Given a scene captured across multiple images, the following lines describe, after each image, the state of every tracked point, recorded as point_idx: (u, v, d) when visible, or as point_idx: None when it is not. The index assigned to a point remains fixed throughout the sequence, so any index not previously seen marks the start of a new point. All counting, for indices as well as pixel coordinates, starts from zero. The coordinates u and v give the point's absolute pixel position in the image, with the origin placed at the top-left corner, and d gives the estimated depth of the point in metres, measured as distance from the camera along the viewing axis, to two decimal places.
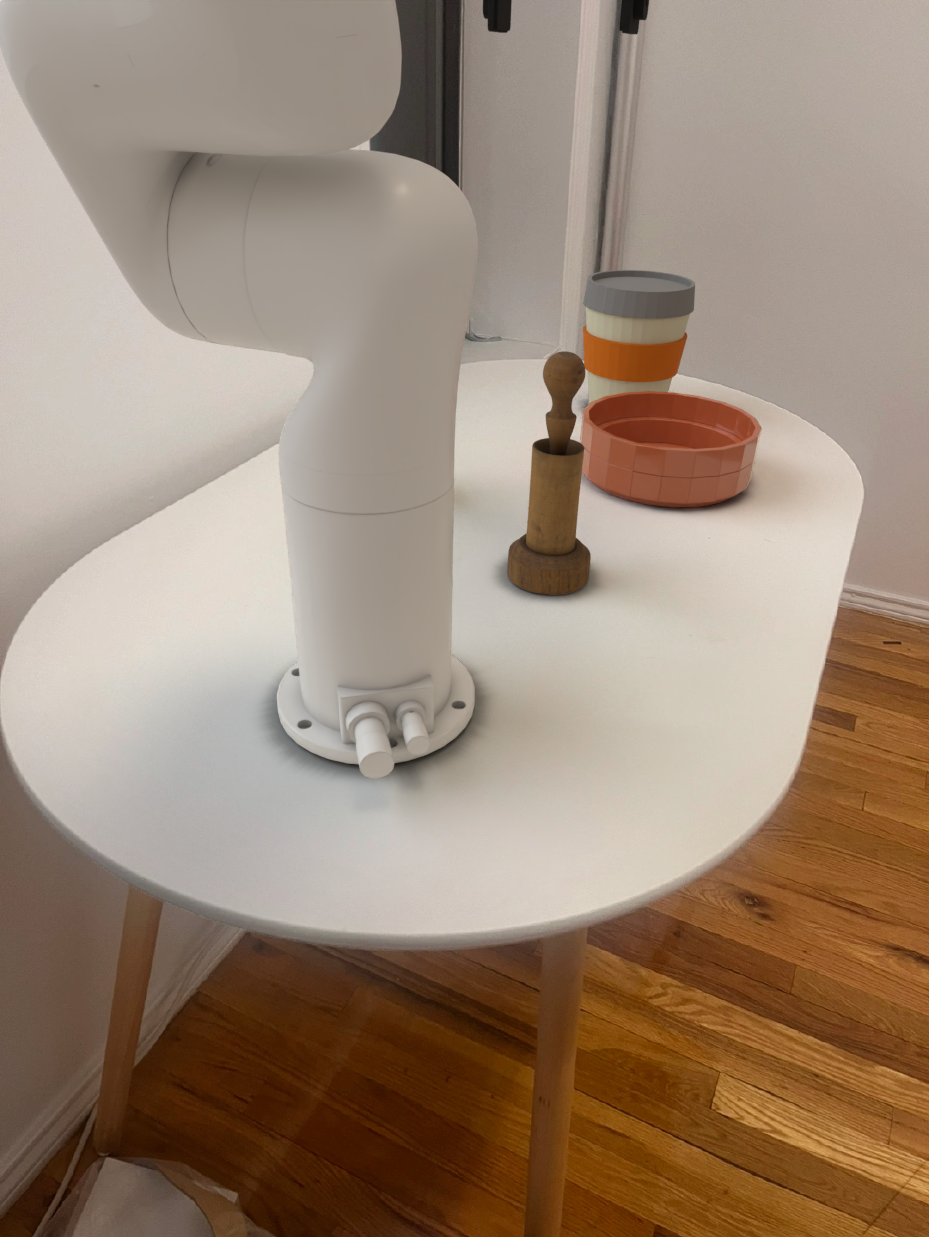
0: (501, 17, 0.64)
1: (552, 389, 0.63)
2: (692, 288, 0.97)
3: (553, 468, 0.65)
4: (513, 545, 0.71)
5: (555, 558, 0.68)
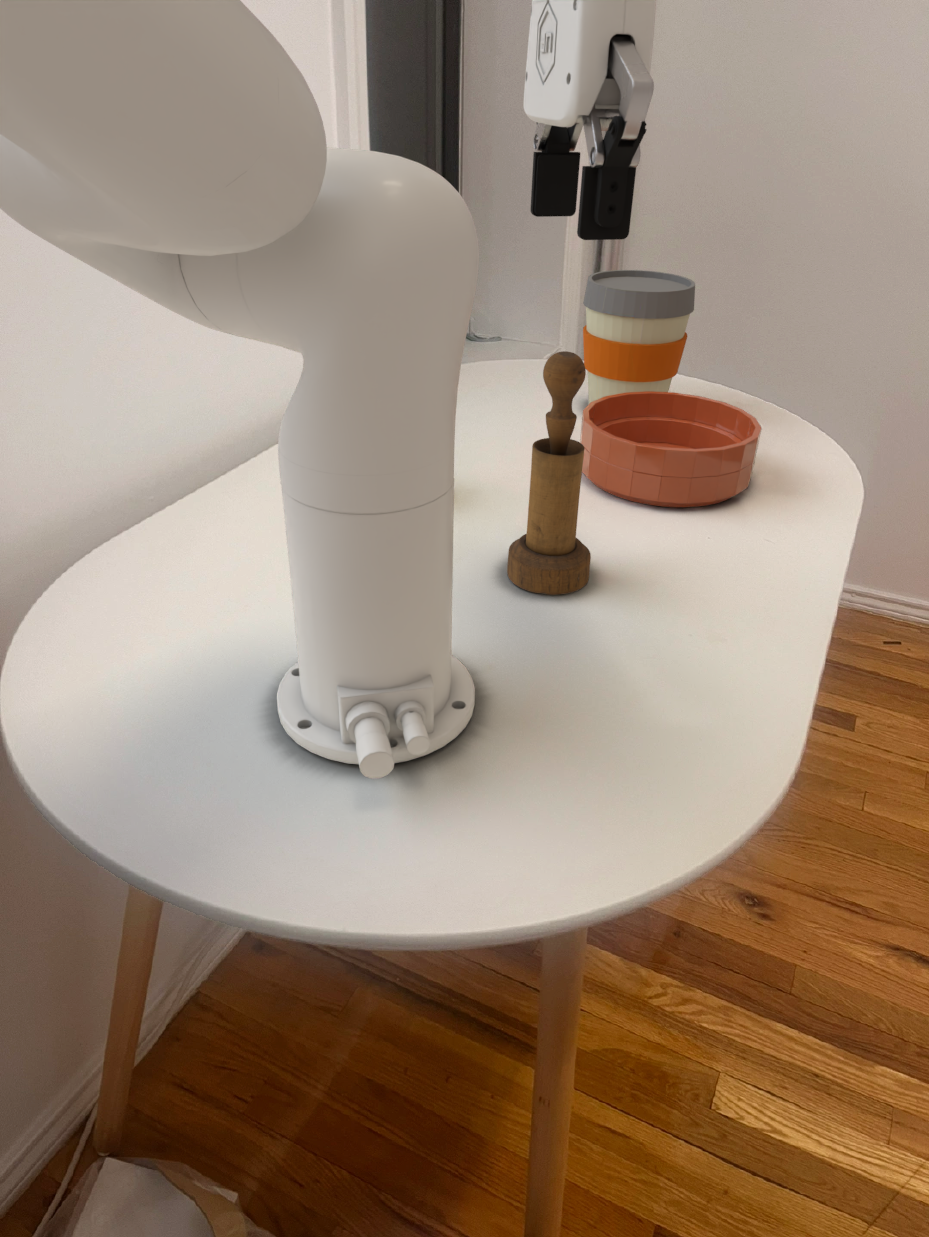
0: (547, 203, 0.61)
1: (552, 389, 0.63)
2: (692, 288, 0.97)
3: (553, 468, 0.65)
4: (513, 545, 0.71)
5: (555, 558, 0.68)
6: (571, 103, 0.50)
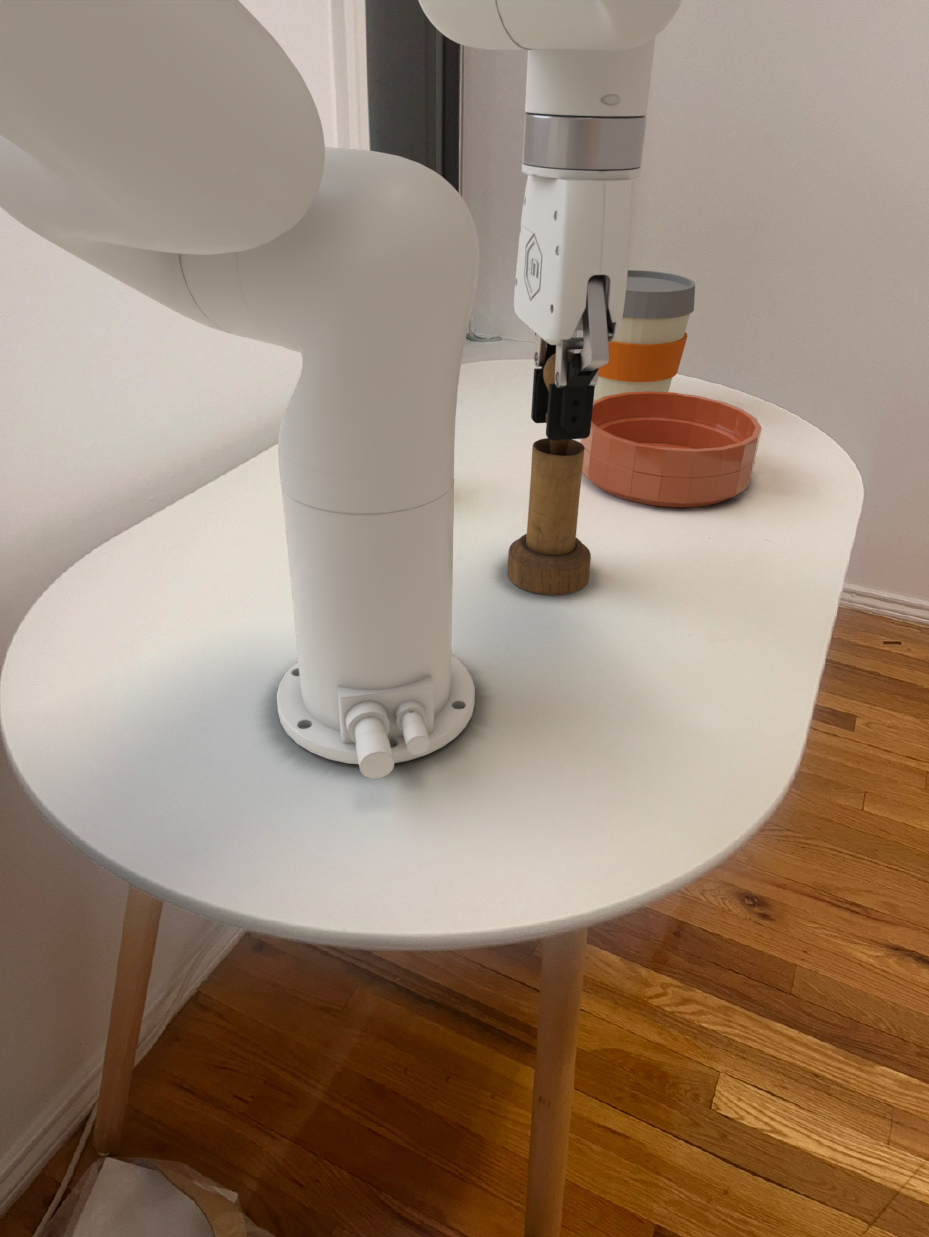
0: (546, 412, 0.66)
1: None
2: (692, 288, 0.97)
3: (553, 468, 0.65)
4: (513, 545, 0.71)
5: (555, 558, 0.68)
6: (554, 329, 0.56)
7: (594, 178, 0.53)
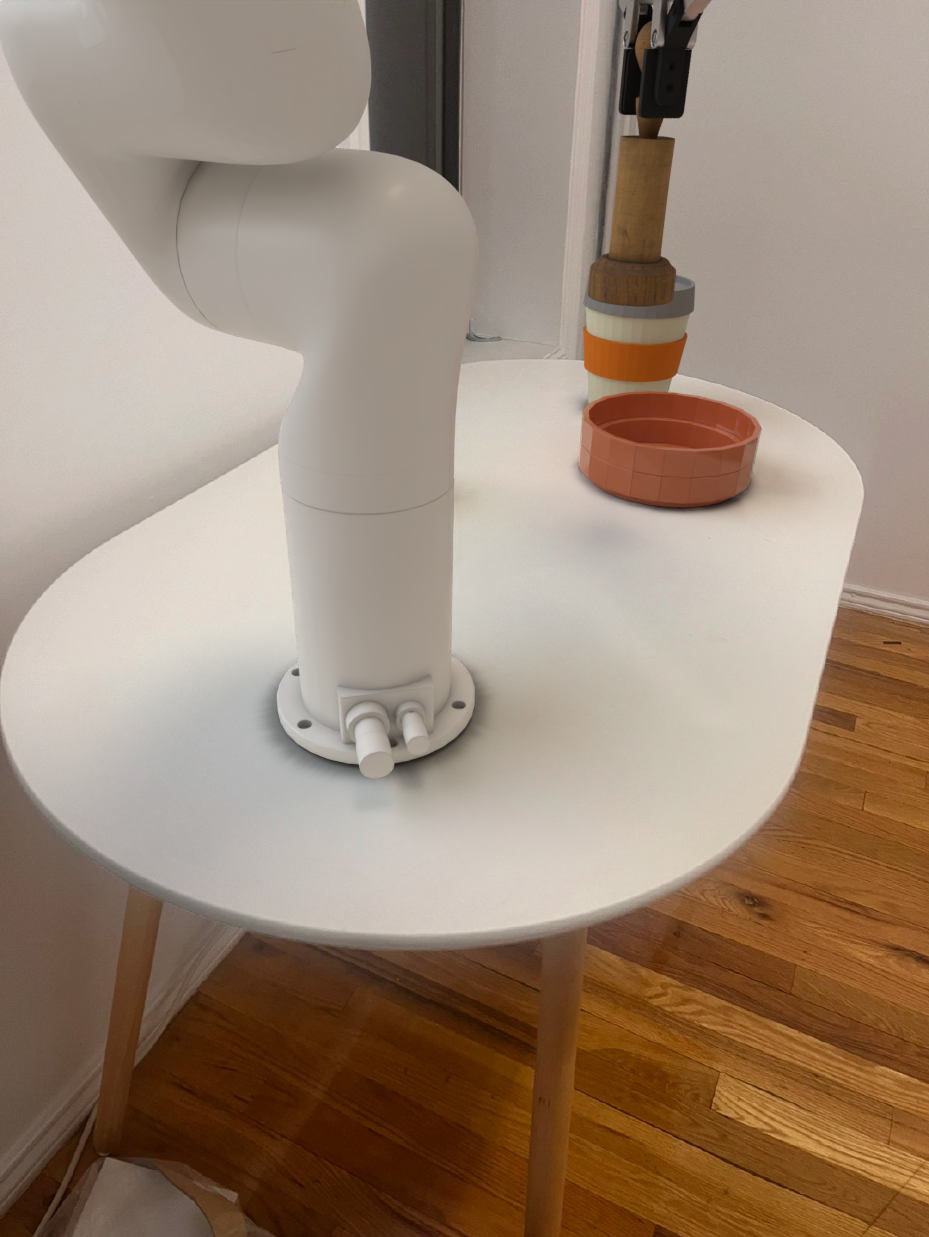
0: (635, 101, 0.63)
1: None
2: (692, 288, 0.97)
3: (644, 155, 0.62)
4: (595, 262, 0.68)
5: (642, 265, 0.65)
6: None
7: None
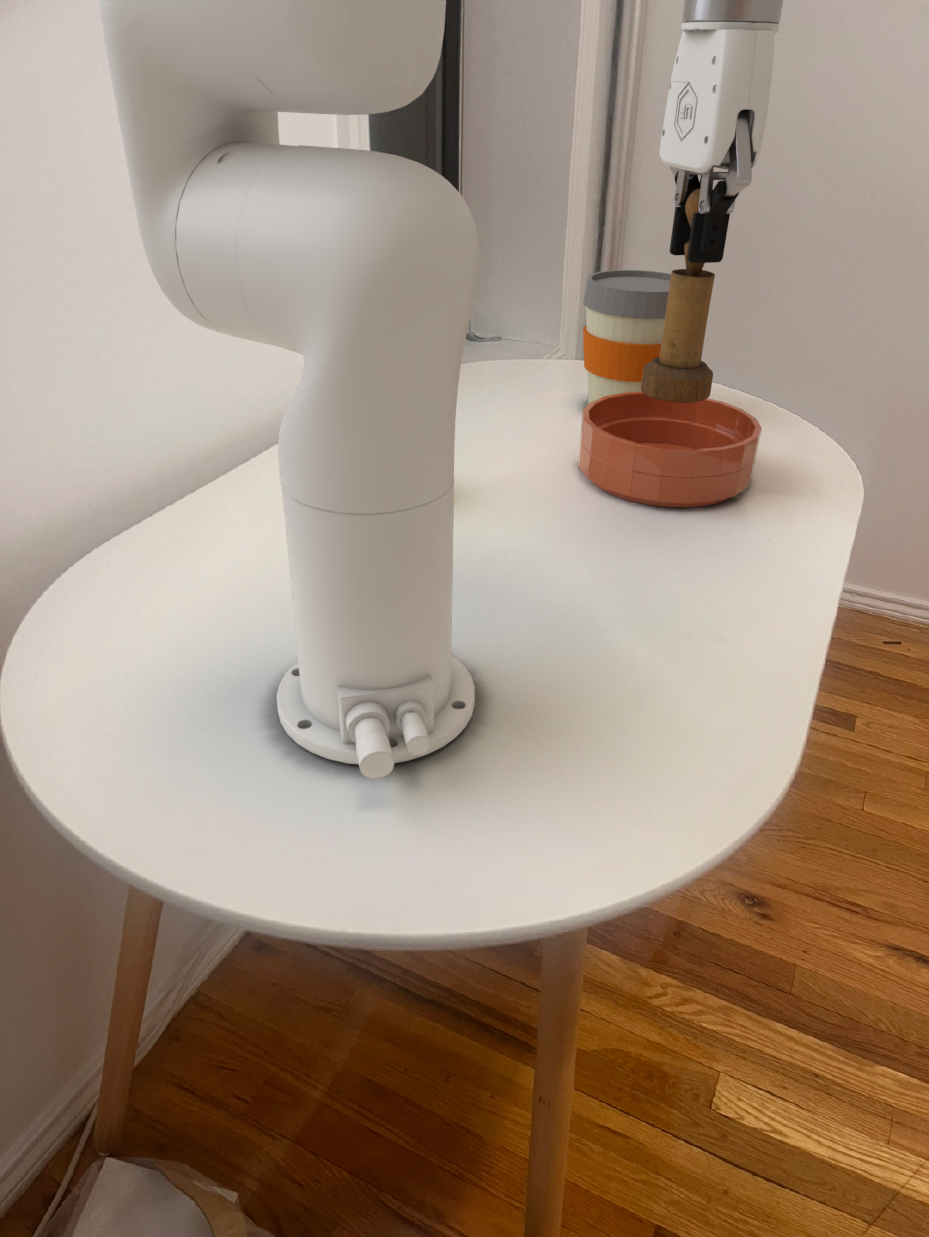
0: (683, 245, 0.80)
1: None
2: None
3: (690, 289, 0.79)
4: (647, 365, 0.85)
5: (687, 370, 0.82)
6: (707, 157, 0.70)
7: (747, 28, 0.67)
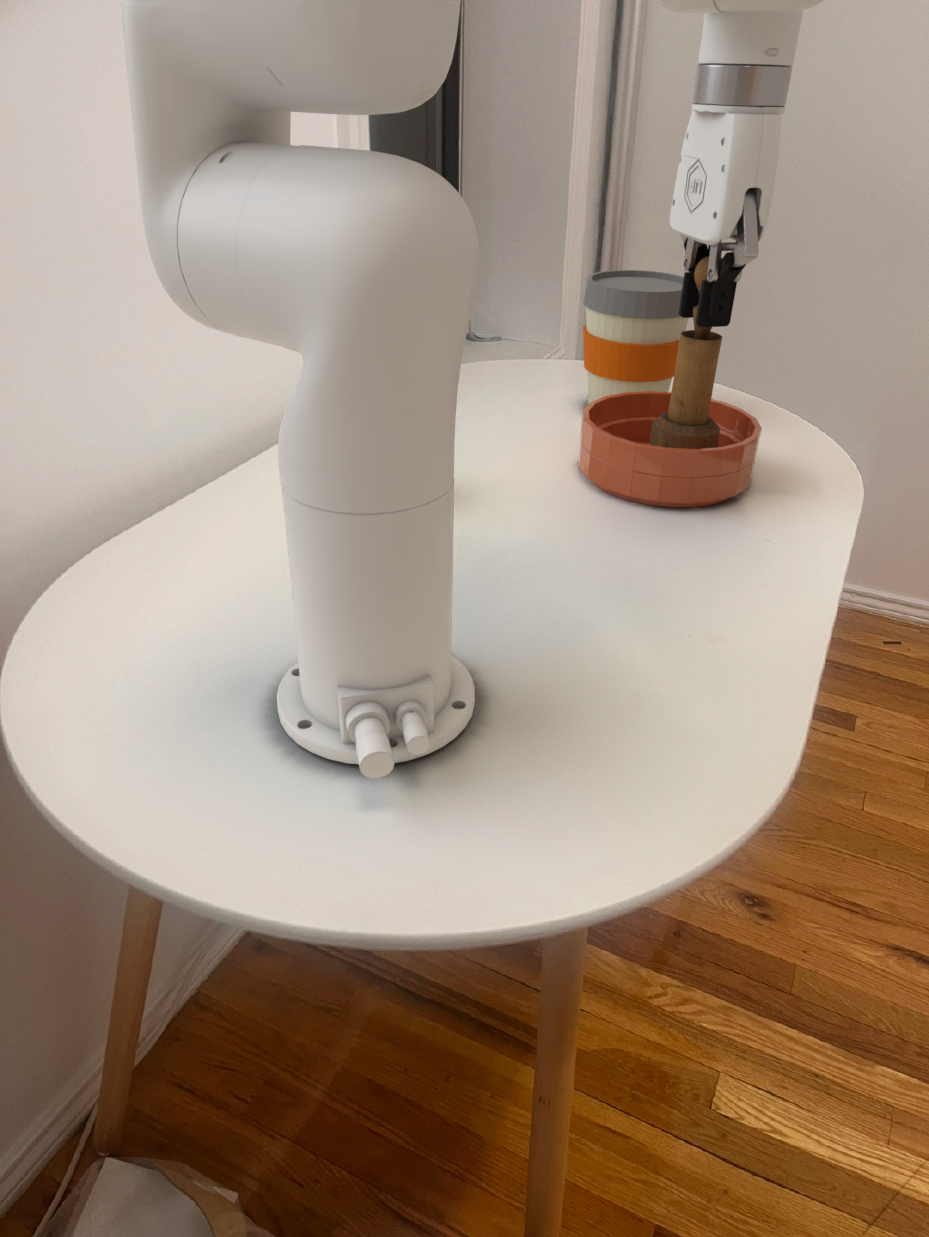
0: (692, 308, 0.83)
1: None
2: None
3: (699, 351, 0.82)
4: (656, 420, 0.88)
5: (694, 427, 0.85)
6: (716, 231, 0.74)
7: (754, 112, 0.70)
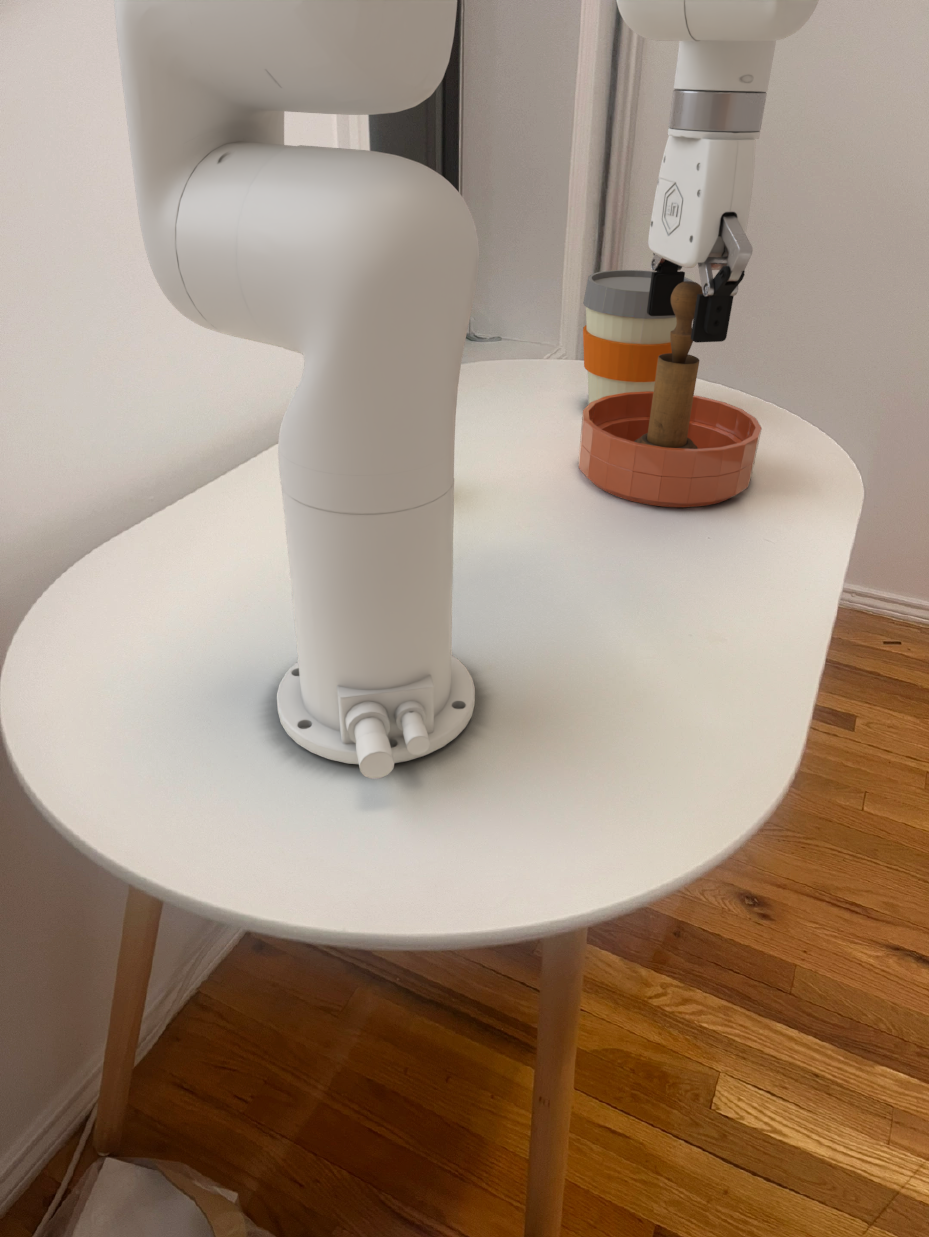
0: (659, 307, 0.85)
1: (678, 310, 0.81)
2: None
3: (676, 374, 0.83)
4: None
5: None
6: (692, 255, 0.74)
7: (729, 138, 0.71)
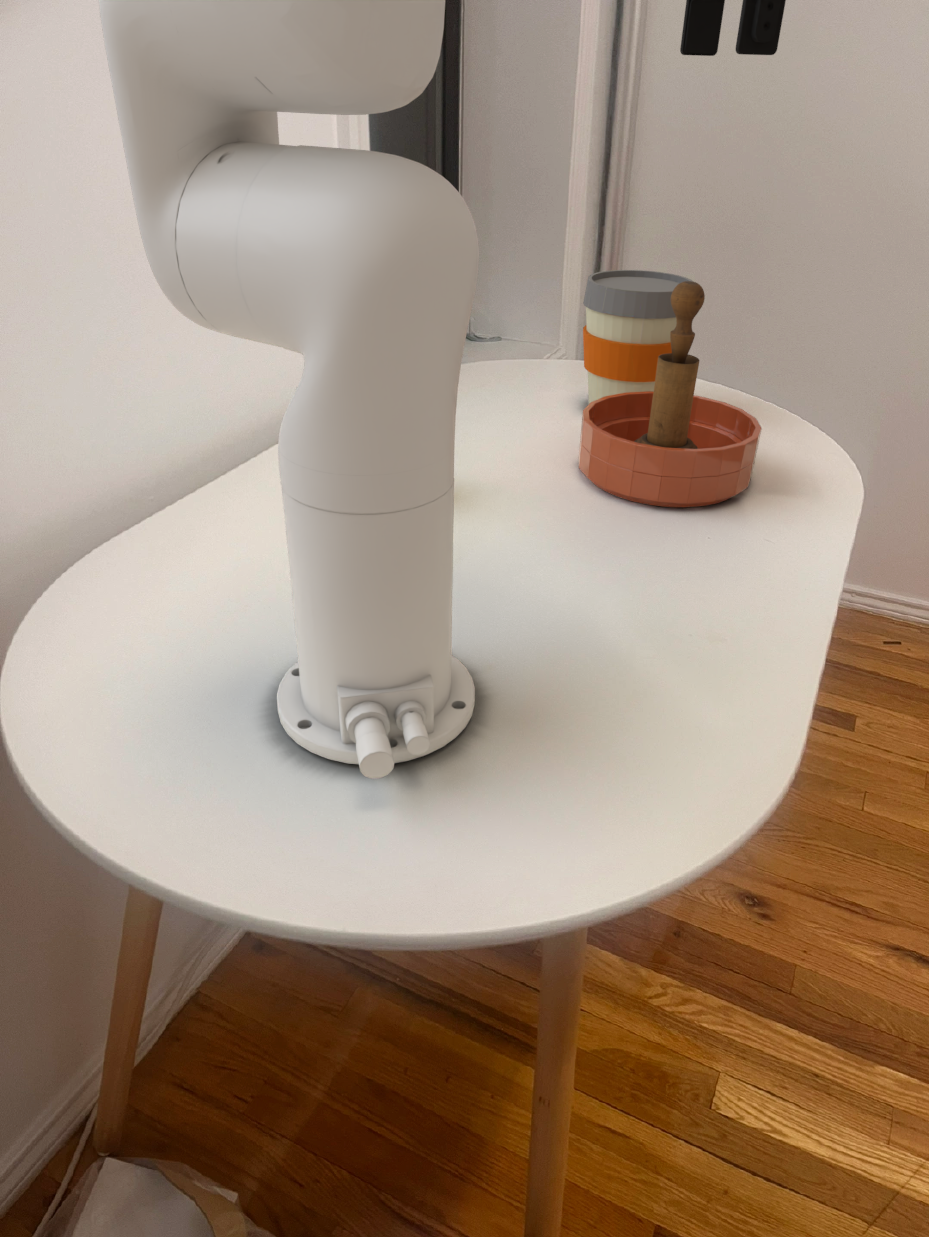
0: (695, 43, 0.74)
1: (678, 310, 0.81)
2: None
3: (676, 374, 0.83)
4: None
5: None
6: None
7: None
